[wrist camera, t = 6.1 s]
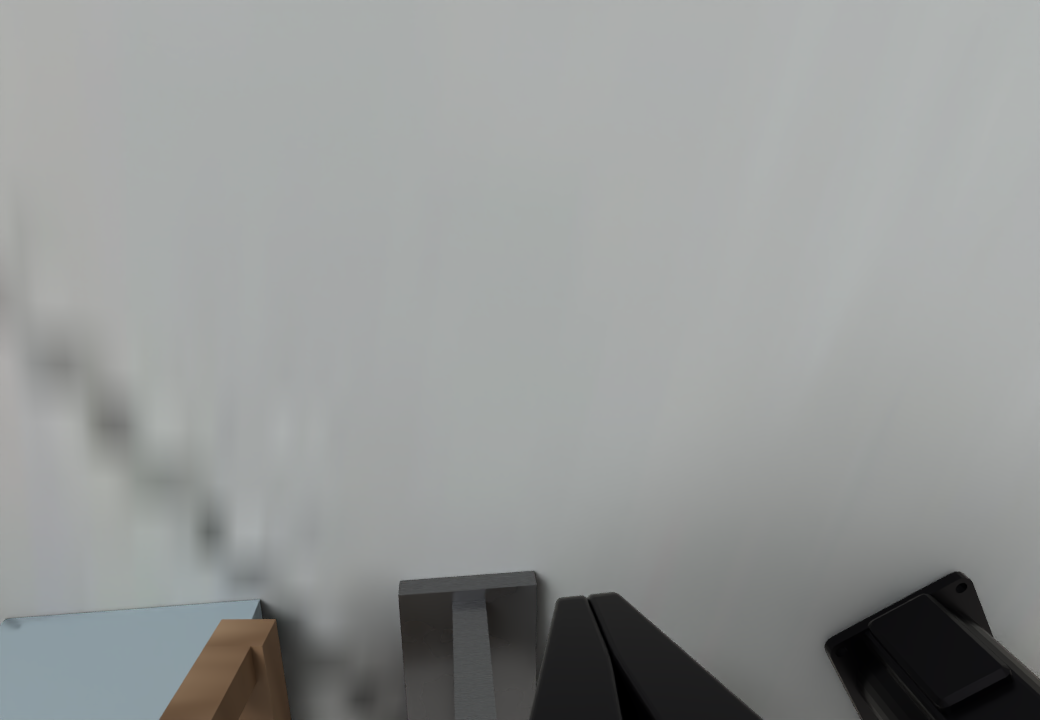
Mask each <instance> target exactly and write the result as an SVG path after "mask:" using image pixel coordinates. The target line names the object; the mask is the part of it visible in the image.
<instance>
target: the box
mask: <svg viewBox="0 0 1040 720" xmlns="http://www.w3.org/2000/svg"><path fill="white" fill-rule="evenodd" d="M222 619H263V617H262V611H261V605H260V599H259V600H246V601H233V602H220V603H207V604H194V605H180V606H167V607H154V608H141V609H128V610H115V611H102V612H89V613H75V614H62V615H49V616H36V617H23V618H10V619H5V620H4V621H3V622H2V623H1V624H0V720H159V719H160V717H161V716H162V714H163V712H164V711H165V709H166V708H167V706H168V704H169V703H170V701H171V700H172V698H173V696H174V695H175V693H176V692H177V690H178V688H179V687H180V685H181V684H182V682H183V680H184V679H185V677H186V676H187V674H188V672H189V671H190V669H191V668H192V666H193V664H194V663H195V661H196V660H197V658H198V656H199V655H200V653H201V652H202V650H203V648H204V647H205V645H206V644H207V642H208V640H209V639H210V637H211V636H212V634H213V632H214V631H215V629H216V628H217V626H218V624H219V623H220V621H221V620H222Z"/></svg>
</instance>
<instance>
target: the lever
mask: <svg viewBox="0 0 1040 720" xmlns="http://www.w3.org/2000/svg"><path fill="white" fill-rule="evenodd" d="M159 720H291V715H290V708H289V702H288V695H287V689H286V682H285V676H284V669H283V662H282V656H281V649H280V643H279V636H278V630H277V623H276V619H222V620H221V621H220V623H219V624H218V626H217V628H216V629H215V631H214V632H213V634H212V636H211V637H210V639H209V640H208V642H207V644H206V645H205V647H204V648H203V650H202V652H201V653H200V655H199V656H198V658H197V660H196V661H195V663H194V664H193V666H192V668H191V669H190V671H189V672H188V674H187V676H186V677H185V679H184V680H183V682H182V684H181V685H180V687H179V688H178V690H177V692H176V693H175V695H174V696H173V698H172V700H171V701H170V703H169V704H168V706H167V708H166V709H165V711H164V712H163V714H162V716H161V717H160V719H159Z"/></svg>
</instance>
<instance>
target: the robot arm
mask: <svg viewBox="0 0 1040 720" xmlns="http://www.w3.org/2000/svg"><path fill="white" fill-rule="evenodd" d="M825 651H826V653H827V655H828V657H829V659H830V660H831V662H832V664H833V666H834V668H835V670H836V672H837V674H838V676H839V678H840V680H841V682H842V684H843V686H844V688H845V689H846V691H847V693H848V695H849V697H850V699H851V701H852V703H853V705H854V707H855V709H856V711H857V713H858V715H859V716H860V718H861V720H1040V679H1039V678H1038V677H1037V676H1036V675H1035V674H1034V673H1033V672H1031V671H1030V670H1029V669H1028V668H1027V667H1026V666H1025V665H1024V664H1022V663H1021V662H1020V661H1019V660H1018V659H1017V658H1016V657H1015V656H1013V655H1012V654H1011V653H1010V652H1009V651H1008V650H1007V649H1006V648H1004V647H1003V646H1002V645H1001V644H1000V643H999V642H998V641H997V640H995V639H994V638H993V635H992V633H991V630H990V627H989V625H988V622H987V619H986V617H985V614H984V611H983V609H982V606H981V603H980V601H979V598H978V596H977V593H976V590H975V588H974V585H973V582H972V581H971V580H970V579H969V578H968V577H967V576H966V575H964V574H963V573H961V572H953V573H951V574H949V575H947V576H945V577H943V578H941V579H939V580H938V581H936V582H934V583H932V584H930V585H928V586H926V587H925V588H923V589H921V590H919V591H917V592H915V593H913V594H911V595H910V596H908V597H906V598H904V599H902V600H900V601H898V602H897V603H895V604H893V605H891V606H889V607H887V608H885V609H883V610H882V611H880V612H878V613H876V614H874V615H872V616H870V617H868V618H867V619H865V620H863V621H861V622H859V623H857V624H855V625H854V626H852V627H850V628H848V629H846V630H844V631H842V632H840V633H839V634H837V635H835V636H833V637H831V638H830V639H829V640H828V641H827V642H826V644H825ZM529 720H763V719H762V718H761V717H760V716H758V715H757V714H756V713H755V712H754V711H753V710H751V709H750V708H749V707H748V706H747V705H746V704H745V703H743V702H742V701H741V700H740V699H739V698H738V697H737V696H735V695H734V694H733V693H732V692H731V691H730V690H728V689H727V688H726V687H725V686H724V685H723V684H722V683H720V682H719V681H718V680H717V679H716V678H715V677H714V676H712V675H711V674H710V673H709V672H708V671H707V670H706V669H704V668H703V667H702V666H701V665H700V664H699V663H697V662H696V661H695V660H694V659H693V658H692V657H691V656H689V655H688V654H687V653H686V652H685V651H684V650H683V649H681V648H680V647H679V646H678V645H677V644H676V643H674V642H673V641H672V640H671V639H670V638H669V637H668V636H666V635H665V634H664V633H663V632H662V631H661V630H660V629H658V628H657V627H656V626H655V625H654V624H653V623H652V622H650V621H649V620H648V619H647V618H646V617H645V616H643V615H642V614H641V613H640V612H639V611H638V610H637V609H635V608H634V607H633V606H632V605H631V604H630V603H629V602H627V601H626V600H625V599H624V598H623V597H622V596H620V595H619V594H617V593H615V592H609V593H599V594H591V595H590V596H589V597H588V598H586V597H584V596H581V595H580V596H571V597H562V598H559V599H558V600H557V601H556V605H555V609H554V613H553V617H552V622H551V626H550V630H549V634H548V639H547V643H546V647H545V652H544V656H543V660H542V664H541V669H540V673H539V677H538V681H537V686H536V690H535V694H534V699H533V703H532V707H531V711H530V716H529Z"/></svg>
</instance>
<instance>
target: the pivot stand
mask: <svg viewBox="0 0 1040 720" xmlns="http://www.w3.org/2000/svg"><path fill="white" fill-rule="evenodd" d="M398 596H399V609H400V623H401V636H402V649H403V663H404V676H405V689H406V703H407V716H408V720H529V716H530V711H531V707H532V703H533V699H534V694H535V690H536V628H537V583H536V578H535V574H534V571H528V572H514V573H501V574H488V575H474V576H461V577H448V578H434V579H421V580H407V581H400V585H399V595H398Z"/></svg>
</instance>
